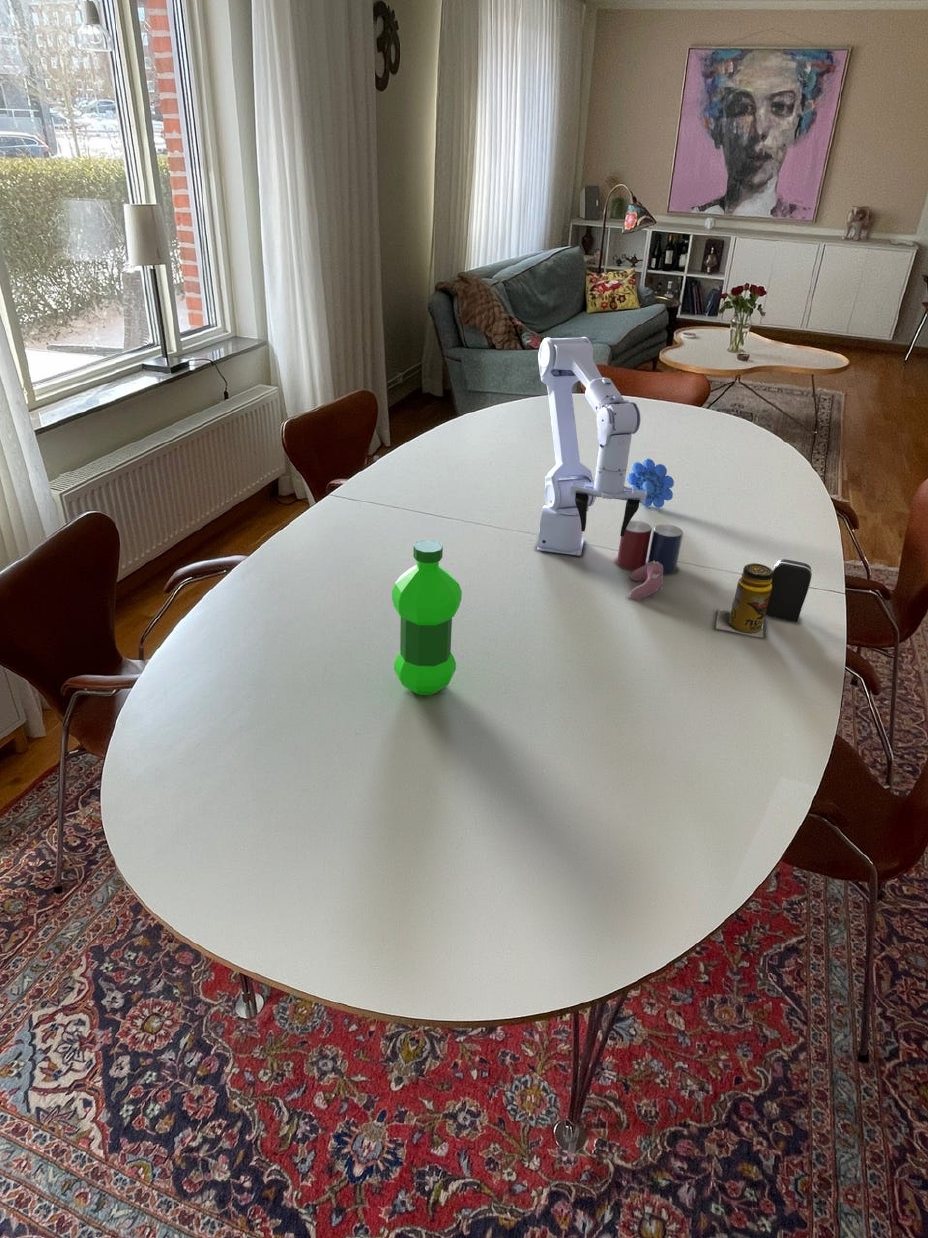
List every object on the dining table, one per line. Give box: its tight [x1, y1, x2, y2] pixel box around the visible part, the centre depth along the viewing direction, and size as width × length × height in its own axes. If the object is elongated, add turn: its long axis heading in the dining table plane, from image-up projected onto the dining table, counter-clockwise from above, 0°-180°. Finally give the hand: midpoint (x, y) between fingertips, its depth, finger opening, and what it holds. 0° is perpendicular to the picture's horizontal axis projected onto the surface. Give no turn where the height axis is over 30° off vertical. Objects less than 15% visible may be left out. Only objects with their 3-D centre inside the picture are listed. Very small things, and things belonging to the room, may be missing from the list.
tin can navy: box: [647, 524, 684, 575], centre depth 174 cm, size 6×6×9 cm
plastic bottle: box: [391, 539, 463, 696], centre depth 129 cm, size 10×10×25 cm
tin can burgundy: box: [616, 520, 652, 571], centre depth 175 cm, size 6×6×9 cm
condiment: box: [715, 562, 773, 638], centre depth 154 cm, size 7×8×12 cm
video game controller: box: [629, 560, 664, 600], centre depth 166 cm, size 10×5×7 cm, turn 168°
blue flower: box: [626, 458, 675, 509], centre depth 202 cm, size 12×7×12 cm, turn 68°
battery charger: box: [765, 558, 813, 623], centre depth 158 cm, size 7×4×11 cm, turn 68°
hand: (602, 531), depth 166 cm, fingers open, 7 cm apart
